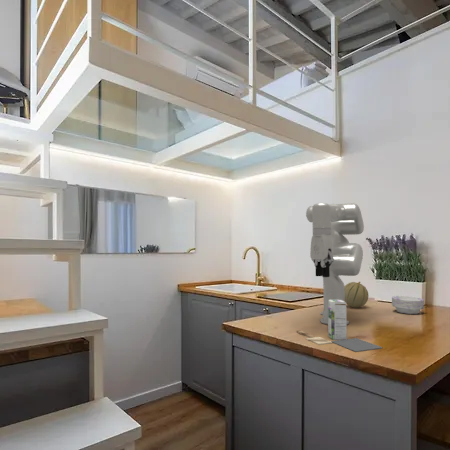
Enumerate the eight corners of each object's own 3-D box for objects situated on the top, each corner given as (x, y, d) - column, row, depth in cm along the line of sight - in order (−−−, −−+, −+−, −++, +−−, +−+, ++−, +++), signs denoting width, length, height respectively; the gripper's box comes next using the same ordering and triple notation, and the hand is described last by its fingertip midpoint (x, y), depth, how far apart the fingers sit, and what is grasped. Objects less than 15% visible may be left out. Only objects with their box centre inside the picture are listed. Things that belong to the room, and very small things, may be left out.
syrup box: (327, 336, 137) (327, 299, 138) (342, 336, 137) (342, 299, 138) (332, 340, 131) (331, 301, 132) (347, 340, 131) (346, 301, 132)
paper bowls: (430, 315, 177) (429, 299, 178) (400, 315, 177) (400, 299, 178) (414, 309, 192) (414, 295, 193) (387, 309, 193) (386, 295, 193)
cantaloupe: (337, 305, 206) (337, 280, 207) (360, 304, 208) (360, 280, 209) (349, 310, 191) (348, 283, 192) (373, 309, 193) (373, 282, 194)
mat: (330, 341, 129) (330, 341, 129) (356, 338, 133) (356, 338, 133) (355, 352, 117) (355, 351, 117) (382, 348, 121) (382, 347, 121)
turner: (292, 333, 142) (292, 331, 142) (304, 331, 144) (304, 329, 144) (318, 344, 125) (318, 342, 125) (332, 343, 127) (332, 341, 127)
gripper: (303, 233, 151) (303, 275, 150) (327, 232, 136) (327, 278, 135) (317, 233, 154) (317, 274, 153) (342, 232, 138) (343, 278, 137)
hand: (322, 276), depth 144 cm, fingers open, 3 cm apart
